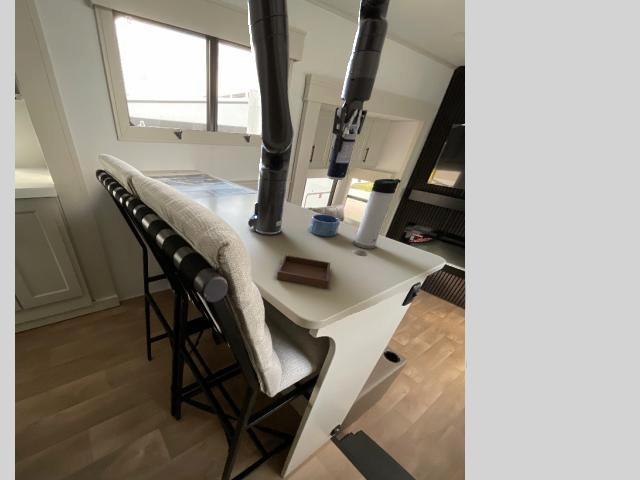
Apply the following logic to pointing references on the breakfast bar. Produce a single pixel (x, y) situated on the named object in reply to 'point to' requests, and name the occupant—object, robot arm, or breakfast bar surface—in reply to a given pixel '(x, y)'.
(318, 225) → the bowl
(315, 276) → the tray
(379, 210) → the travel mug
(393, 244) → the breakfast bar surface
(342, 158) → the beverage can
